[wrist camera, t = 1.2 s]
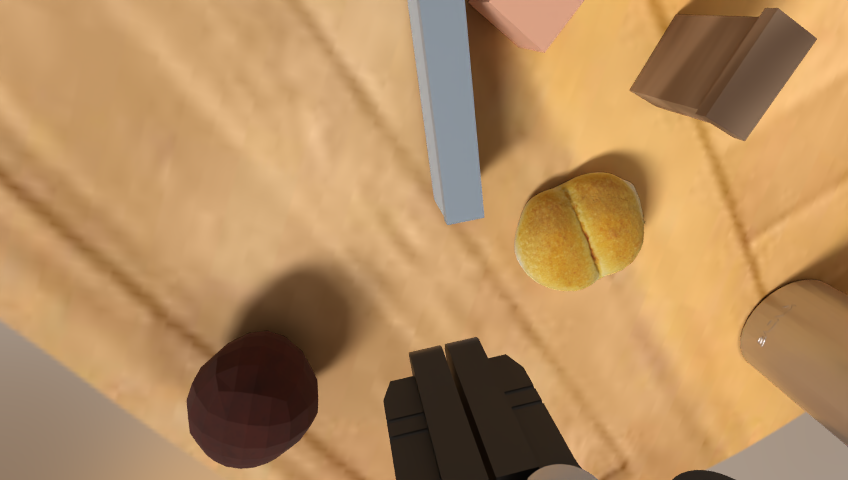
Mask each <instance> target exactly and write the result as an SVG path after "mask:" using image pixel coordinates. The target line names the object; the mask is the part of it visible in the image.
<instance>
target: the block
mask: <svg viewBox="0 0 848 480" xmlns="http://www.w3.org/2000/svg"><path fill="white" fill-rule="evenodd" d="M583 1H584V0H469V2H468V3H469V4H470V5H472V6H473V7H474V8H475V9H476V10H477V11H478V12H479V13H481V14H482V15H483V16H484V17H485V18H486V19H487V20H488V21H490V22H491V23H492V24H493V25H494V26H495V27H496V28H497V29H499V30H500V31H501V32H502V33H503V34H504V35H505V36H507V37H508V38H509V39H510V40H511V41H512V42H513V43H514V44H516V45H517V46H518V47H520V48H525V49H530V50H534V51H539V52H544V53H545V52H546V50H547V49H548V48H549V46H550V45H551V44H552V42H553V41H554V40H555V38H556V37H557V36H558V34H559V33H560V32H561V30H562V29H563V28H564V26H565V25H566V24H567V22H568V21H569V20H570V18H571V17H572V16H573V14H574V13H575V12H576V11H577V9H578V8H579V7H580V5H581V4H582V3H583Z"/></svg>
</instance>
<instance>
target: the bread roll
mask: <svg viewBox="0 0 848 480" xmlns="http://www.w3.org/2000/svg"><path fill="white" fill-rule="evenodd" d="M644 224H645V221H644V219H643V213H642V208H641V204H640V199H639V196H638V194H637V192H636V189H635V187H634V186H633V184H632V183H630V182H629V181H626V180H623V179H621V178H619V177H618V176H616V175H614V174H611V173H605V172H595V173H588V174H584V175H580V176H577V177H575V178H573V179H571V180H569V181H567V182H565V183H563V184H561V185H559V186H557V187H555V188H552V189H548V190H546V191H543V192H541V193H539V194H537V195H536V196H534V197H533V198H531V199H530V200H529V201H528V202H527V204H526V205H525V207H524V209H523V212H522V215H521V217H520V220H519V223H518V227H517V230H516V236H515V254H516V257H517V260H518V261H519V263H520V265H521V266H522V268H523V270H524V271H525V272H526V273H527V274H528V276H529V277H531V278H532V279H533V280H534V281H535V282H537V283H539V284H541V285H543V286H545V287H547V288H550V289H554V290H560V291H577V290H582V289H584V288H586V287H588V286H590V285H591V284H593V283H594V282H595V281H597V280H598V279H600V278H602V277H604V276H607V275H611V274H614V273H616V272H619V271H621V270H623V269H624V268H625V267H626V266H628V265H629V264H631V263H632V262H633V261H634V259H635V258H636V256H637V255H638V253H639V251H640V250H641V247H642V244H643V237H644V227H643V226H644Z"/></svg>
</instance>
